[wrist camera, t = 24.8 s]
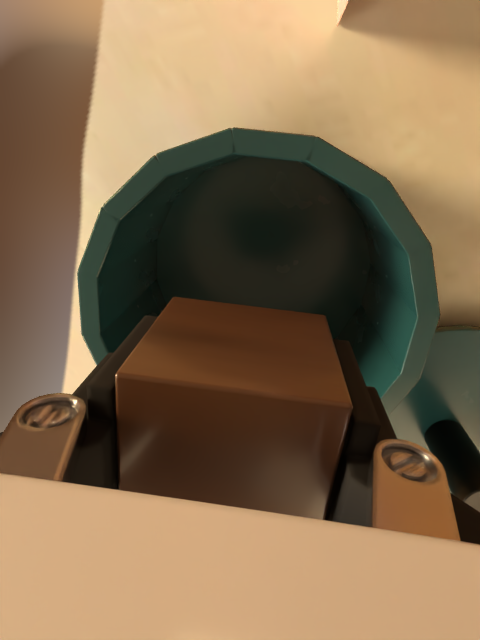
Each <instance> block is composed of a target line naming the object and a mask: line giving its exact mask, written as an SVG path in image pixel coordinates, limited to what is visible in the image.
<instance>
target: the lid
mask: <svg viewBox="0 0 480 640" xmlns="http://www.w3.org/2000/svg"><path fill="white" fill-rule="evenodd" d="M388 418H389V420H390V423H391V425H392V427H393V430H394V432H395V435H396V437H397V439H402V440H407V441H410V442H412V443H415V444H418V445H419V446H421V447H423V448H425V449H427V450H428V451H429V452H431V453H432V454H433V455H434V456H436V457H437V459H438V460H439V461H440V462H441V463H442V465H443V467H444V470H445V472H446V477H447V481H448V486H449V490H450V493H451V494H453V495H454V496H456V497H457V498H459V499H460V500H462V501H464V502H465V503H467V504H468V505H470V506H471V507H473V508H474V509H476V510H477V511H479V512H480V327H475V326H444V327H438V328H436V331H435V334H434V337H433V340H432V343H431V346H430V349H429V352H428V356H427V359H426V362H425V365H424V368H423V371H422V374H421V377H420V379H419V381H418V383H417V384H416V385H415V386H414V387H413V388H412V390H411V391H410V392H409V393H408V394H407V395H406V396H405V398H404V399H403V400H402V401H401V402H400V403H399V404H398V406H397V407H396V408H395V409H394V410H393V411H392V413H391V414H390V415H389V416H388Z"/></svg>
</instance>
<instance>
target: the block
mask: <svg viewBox="0 0 480 640" xmlns="http://www.w3.org/2000/svg"><path fill="white" fill-rule="evenodd" d="M115 388H116V418H117V449H118V480H119V490H122V491H129V492H136V493H142V494H149V495H156V496H163V497H170V498H177V499H184V500H191V501H198V502H205V503H211V504H218V505H225V506H232V507H238V508H245V509H252V510H259V511H265V512H272V513H279V514H286V515H292V516H299V517H306V518H313V519H319V520H324V519H325V515H326V511H327V507H328V503H329V499H330V495H331V491H332V487H333V483H334V479H335V475H336V471H337V468H338V464H339V460H340V456H341V452H342V448H343V444H344V440H345V436H346V432H347V428H348V424H349V420H350V416H351V412H352V408H353V406H352V402H351V399H350V395H349V392H348V389H347V385H346V382H345V379H344V375H343V372H342V369H341V365H340V362H339V359H338V355H337V352H336V349H335V345H334V342H333V339H332V335H331V332H330V329H329V325H328V322H327V319H326V316H324V315H319V314H311V313H303V312H295V311H286V310H278V309H270V308H262V307H254V306H246V305H238V304H230V303H222V302H214V301H205V300H197V299H189V298H181V297H173V298H172V299H171V300H170V302H169V303H168V304H167V306H166V307H165V308H164V310H163V311H162V312H161V314H160V315H159V316H158V318H157V319H156V320H155V322H154V323H153V324H152V326H151V327H150V328H149V330H148V331H147V332H146V334H145V335H144V336H143V338H142V339H141V340H140V342H139V343H138V344H137V346H136V347H135V348H134V350H133V351H132V352H131V354H130V355H129V356H128V358H127V359H126V360H125V362H124V363H123V364H122V366H121V367H120V368H119V370H118V371H117V373H116V375H115Z"/></svg>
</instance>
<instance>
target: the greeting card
mask: <svg viewBox="0 0 480 640" xmlns="http://www.w3.org/2000/svg"><path fill="white" fill-rule="evenodd" d="M348 2H349V0H337V26H338V25H339V22H340V20H341V18H342V16H343V14H344V11H345V9H346V7H347V5H348Z"/></svg>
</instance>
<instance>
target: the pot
mask: <svg viewBox="0 0 480 640" xmlns="http://www.w3.org/2000/svg"><path fill="white" fill-rule="evenodd" d="M77 276H78V290H79V305H80V320H81V334H82V336H83V339H84V341H85V343H86V345H87V347H88V349H89V351H90V353H91V355H92V357H93V359H94V361H95V363H96V365H98V364H99V363H100V362H101V361H102V359H103V358H104V357H105V356H106V355H107V354H108V353H114V352H115V351H116V349H117V348H118V347H119V346H120V345H121V343H122V342H123V341H124V340H125V339H126V337H127V336H128V335H129V334H130V333H131V331H132V330H133V329H134V328H135V327H136V325H137V324H138V323H139V322H140V321H141V320H142V318H143V317H144V316H145V315H147V316H155V317H158V316H159V315H160V314H161V312H162V311H163V310H164V308H165V307H166V306H167V304H168V303H169V302H170V300H171V299H172V298H173V297H181V298H189V299H197V300H205V301H214V302H222V303H230V304H238V305H246V306H254V307H262V308H270V309H278V310H286V311H295V312H303V313H311V314H319V315H324V316H326V319H327V322H328V325H329V329H330V332H331V335H332V339H337V340H345V341H349V342H350V345H351V347H352V350H353V353H354V355H355V358H356V360H357V363H358V366H359V368H360V371H361V374H362V376H363V379H364V381H365V384H366V386H371V387H375V388H376V390H377V392H378V394H379V397H380V399H381V401H382V404H383V406H384V408H385V411H386V413H387V416H389V415H390V414H391V413H392V411H393V410H394V409H395V408H396V407H397V406H398V404H399V403H400V402H401V401H402V400H403V399H404V398H405V396H406V395H407V394H408V393H409V392H410V391H411V390H412V388H413V387H414V386H415V385H416V384H417V383H418V381H419V379H420V377H421V374H422V371H423V368H424V365H425V362H426V359H427V356H428V352H429V349H430V346H431V343H432V340H433V337H434V334H435V331H436V328H437V325H438V321H439V318H440V309H439V301H438V293H437V285H436V277H435V269H434V261H433V253H432V246H431V244H430V242H429V240H428V239H427V237H426V236H425V234H424V233H423V231H422V230H421V228H420V227H419V225H418V224H417V222H416V221H415V219H414V217H413V216H412V214H411V213H410V211H409V210H408V208H407V207H406V205H405V204H404V202H403V201H402V199H401V198H400V196H399V195H398V193H397V192H396V190H395V188H394V187H393V185H392V184H391V182H390V181H389V180H388V179H387V178H386V177H384V176H382V175H381V174H379V173H377V172H376V171H374V170H372V169H371V168H369V167H368V166H366V165H364V164H363V163H361V162H359V161H358V160H356V159H354V158H353V157H351V156H349V155H348V154H346V153H344V152H343V151H341V150H339V149H338V148H336V147H334V146H333V145H331V144H329V143H328V142H326V141H324V140H323V139H321V138H319V137H316V136H312V135H303V134H293V133H283V132H273V131H264V130H254V129H244V128H235V127H234V128H228V129H225V130H223V131H220V132H217V133H214V134H211V135H208V136H205V137H202V138H200V139H197V140H194V141H191V142H188V143H185V144H182V145H179V146H177V147H174V148H171V149H168V150H165V151H162V152H159V153H157V154H156V155H154V156H153V157H152V158H150V159H149V160H148V161H147V162H146V163H145V164H144V165H143V166H142V167H141V168H140V169H139V170H138V171H137V172H136V173H135V174H134V175H133V176H132V177H131V178H130V179H129V180H128V181H127V182H126V183H125V184H124V185H123V186H122V187H121V188H120V189H119V190H118V191H117V192H116V193H115V194H114V195H113V196H112V197H111V198H110V199H109V200H108V201H107V202H106V203H105V204H104V205H103V207H102V208H101V209H100V212H99V214H98V217H97V220H96V222H95V225H94V228H93V231H92V233H91V236H90V239H89V241H88V244H87V247H86V250H85V252H84V255H83V258H82V260H81V263H80V266H79V269H78V272H77Z"/></svg>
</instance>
